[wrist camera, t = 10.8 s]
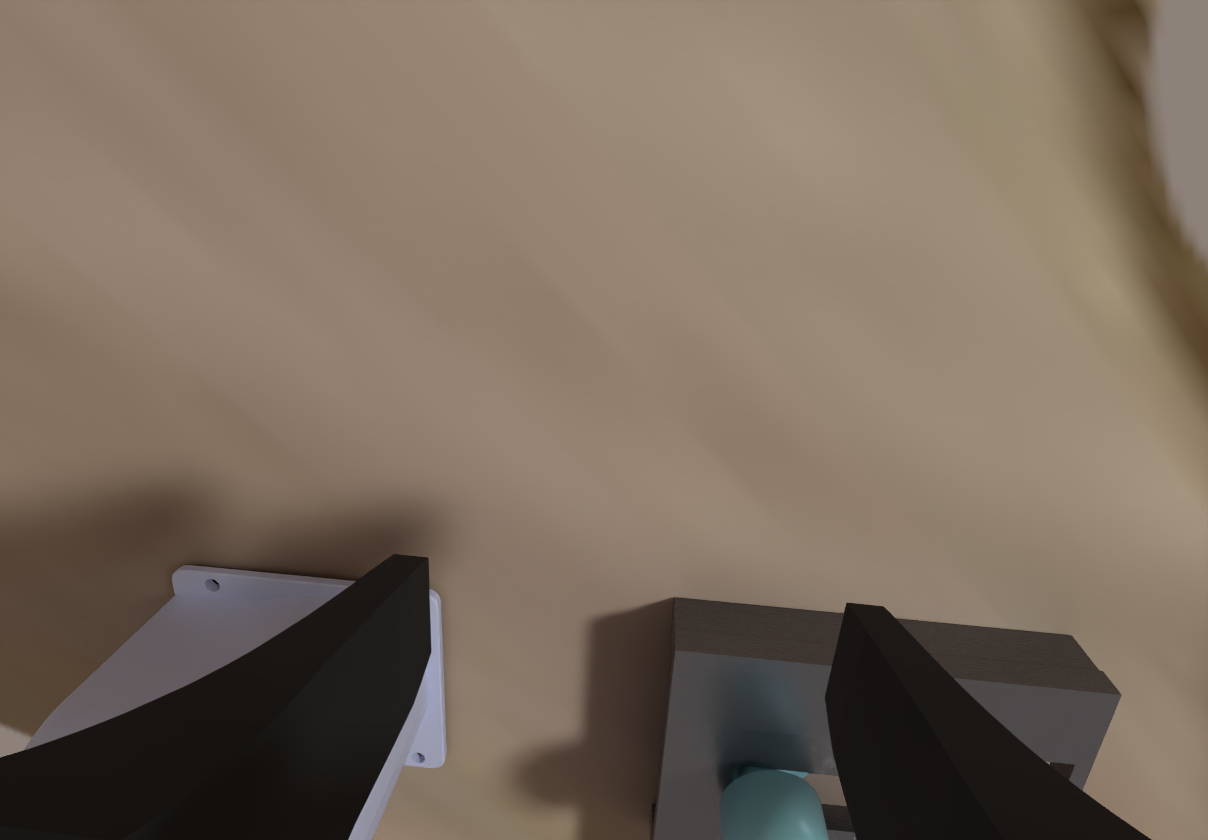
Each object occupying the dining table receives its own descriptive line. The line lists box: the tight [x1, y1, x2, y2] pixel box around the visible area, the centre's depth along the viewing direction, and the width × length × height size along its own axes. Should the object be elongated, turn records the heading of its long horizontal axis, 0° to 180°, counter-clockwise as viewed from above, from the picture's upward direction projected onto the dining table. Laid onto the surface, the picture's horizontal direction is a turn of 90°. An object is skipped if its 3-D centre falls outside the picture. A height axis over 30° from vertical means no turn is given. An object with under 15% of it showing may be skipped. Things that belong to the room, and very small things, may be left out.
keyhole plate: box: [650, 598, 1121, 840], centre depth 25 cm, size 13×11×3 cm
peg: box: [719, 765, 829, 840], centre depth 23 cm, size 4×4×7 cm
